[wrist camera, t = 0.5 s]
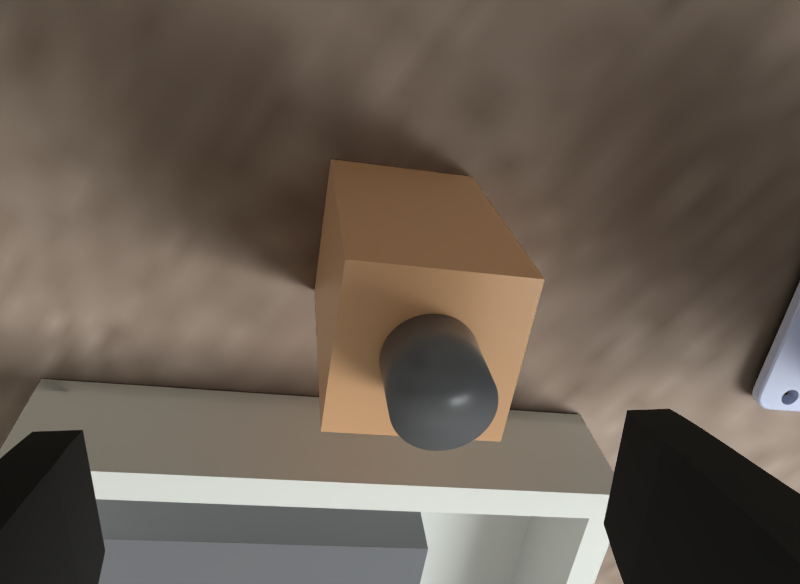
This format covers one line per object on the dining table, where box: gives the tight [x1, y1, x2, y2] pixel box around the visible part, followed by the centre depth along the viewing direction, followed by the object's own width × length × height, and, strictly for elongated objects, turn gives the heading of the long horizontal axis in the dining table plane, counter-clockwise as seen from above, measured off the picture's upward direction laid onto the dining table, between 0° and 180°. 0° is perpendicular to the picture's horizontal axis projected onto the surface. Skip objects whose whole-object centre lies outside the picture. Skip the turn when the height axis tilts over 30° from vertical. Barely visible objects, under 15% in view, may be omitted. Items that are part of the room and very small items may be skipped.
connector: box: [315, 159, 545, 451], centre depth 15 cm, size 4×4×8 cm
